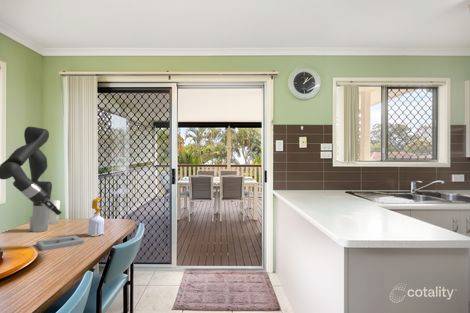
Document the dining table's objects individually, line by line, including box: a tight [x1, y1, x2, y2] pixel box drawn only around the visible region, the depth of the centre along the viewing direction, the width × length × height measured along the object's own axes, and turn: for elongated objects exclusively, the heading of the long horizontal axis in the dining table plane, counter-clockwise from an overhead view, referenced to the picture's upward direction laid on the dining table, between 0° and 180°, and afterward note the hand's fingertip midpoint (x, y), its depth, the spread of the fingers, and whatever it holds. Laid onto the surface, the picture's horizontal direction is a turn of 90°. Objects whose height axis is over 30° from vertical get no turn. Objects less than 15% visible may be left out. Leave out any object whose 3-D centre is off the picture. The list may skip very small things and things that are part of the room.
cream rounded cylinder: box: [48, 199, 61, 226], centre depth 146 cm, size 4×4×13 cm
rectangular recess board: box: [35, 235, 85, 252], centre depth 149 cm, size 20×14×2 cm
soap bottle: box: [87, 197, 105, 236], centre depth 171 cm, size 9×9×25 cm
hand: (58, 213), depth 148 cm, fingers closed on cream rounded cylinder, 4 cm apart
